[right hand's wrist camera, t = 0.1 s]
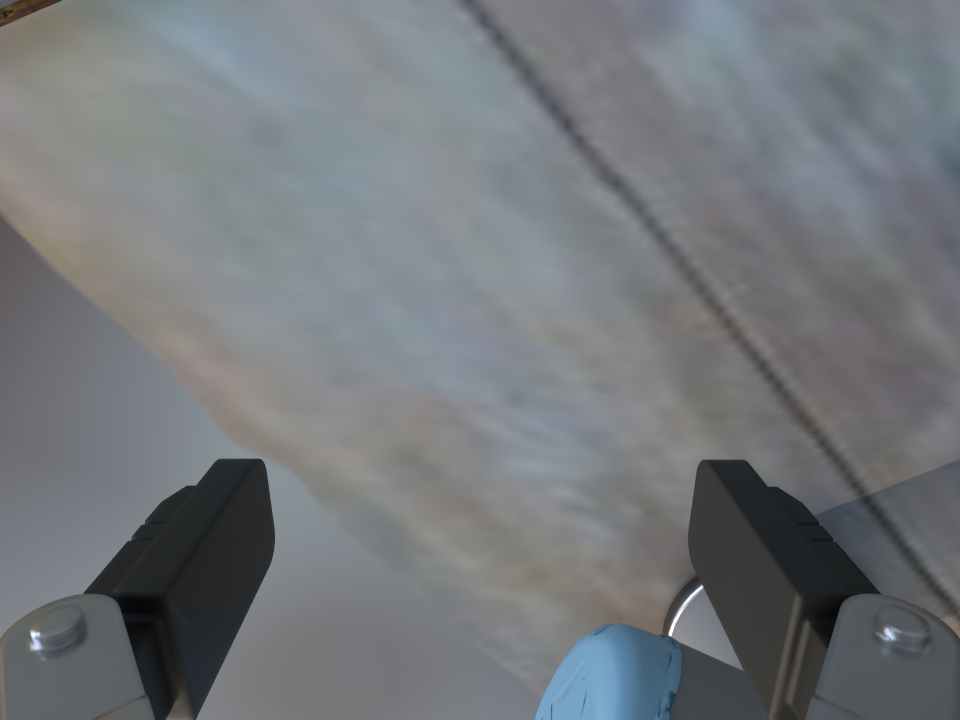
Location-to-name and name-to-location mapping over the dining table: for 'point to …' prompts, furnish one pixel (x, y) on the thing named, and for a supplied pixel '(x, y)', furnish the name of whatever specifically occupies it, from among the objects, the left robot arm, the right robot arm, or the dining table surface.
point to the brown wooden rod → (22, 9)
